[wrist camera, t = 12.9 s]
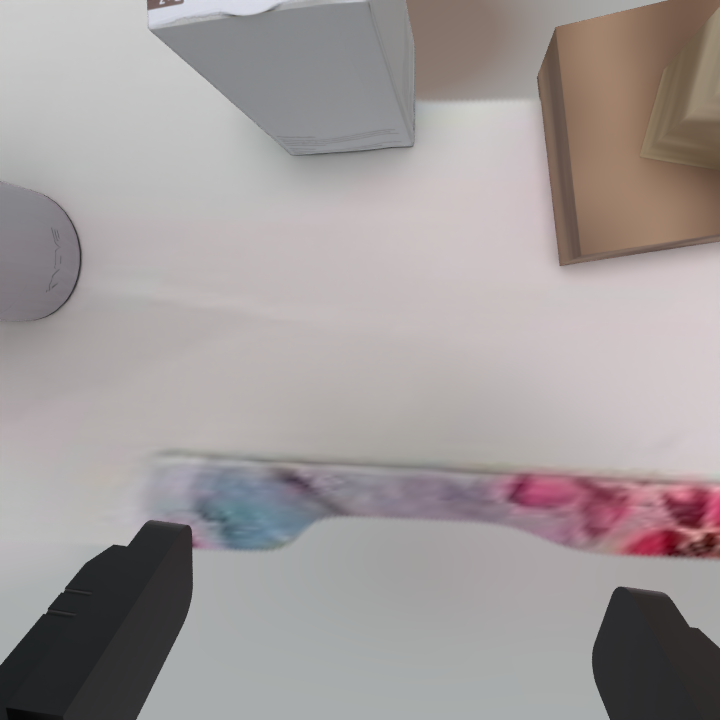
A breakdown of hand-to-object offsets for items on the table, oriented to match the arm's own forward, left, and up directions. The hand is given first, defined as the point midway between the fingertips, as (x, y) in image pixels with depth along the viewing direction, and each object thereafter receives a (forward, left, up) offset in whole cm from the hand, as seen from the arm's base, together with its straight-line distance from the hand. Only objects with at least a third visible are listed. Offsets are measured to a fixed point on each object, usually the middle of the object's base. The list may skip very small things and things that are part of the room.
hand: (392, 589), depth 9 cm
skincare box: (-8, +17, -22) cm, 29 cm away
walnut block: (+10, +16, -22) cm, 29 cm away
